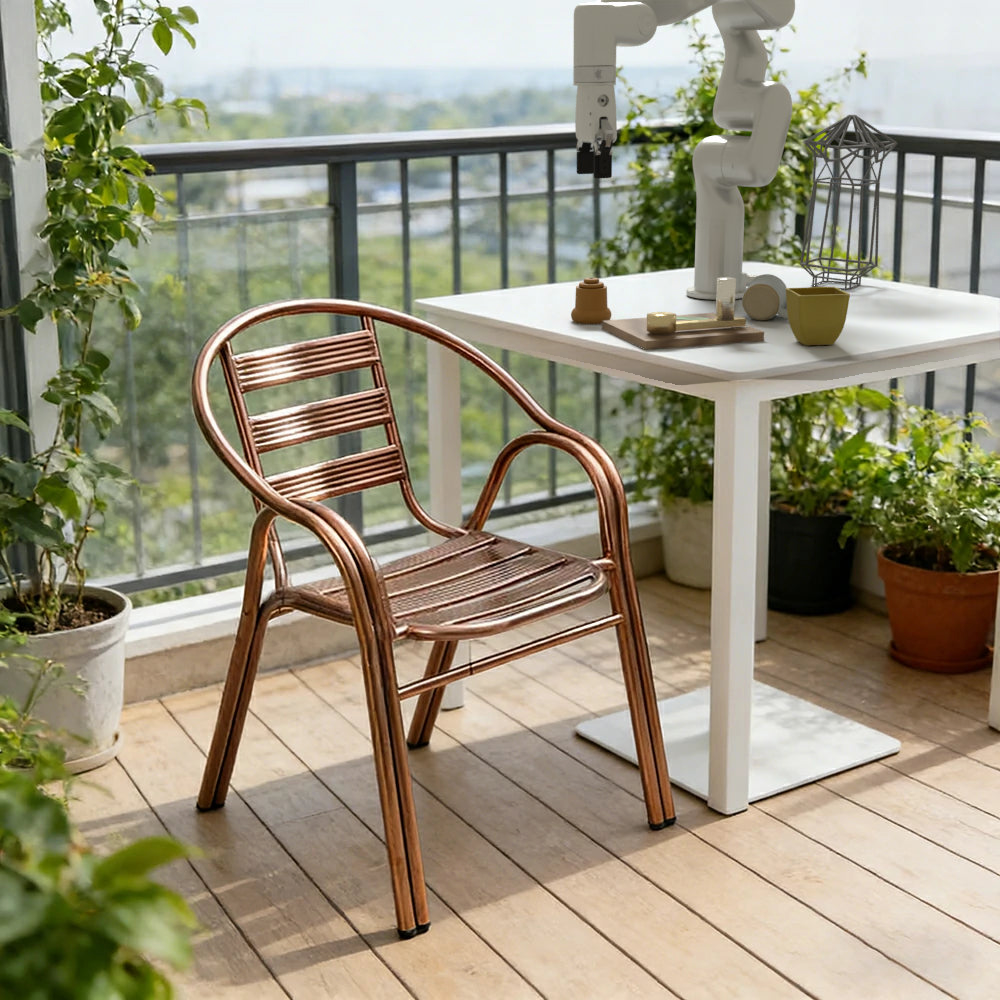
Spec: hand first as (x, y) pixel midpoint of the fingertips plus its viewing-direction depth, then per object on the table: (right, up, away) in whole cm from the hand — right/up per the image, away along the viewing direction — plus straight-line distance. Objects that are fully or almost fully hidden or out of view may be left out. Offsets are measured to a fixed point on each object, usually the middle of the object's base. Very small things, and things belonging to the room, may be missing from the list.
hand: (593, 175), depth 255 cm
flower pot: (+37, -32, -14) cm, 51 cm away
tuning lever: (+17, -29, -11) cm, 35 cm away
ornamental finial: (0, -25, +8) cm, 27 cm away
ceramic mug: (+34, -25, +9) cm, 43 cm away
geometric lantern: (+55, -14, +42) cm, 70 cm away
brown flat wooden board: (+15, -29, -6) cm, 33 cm away
